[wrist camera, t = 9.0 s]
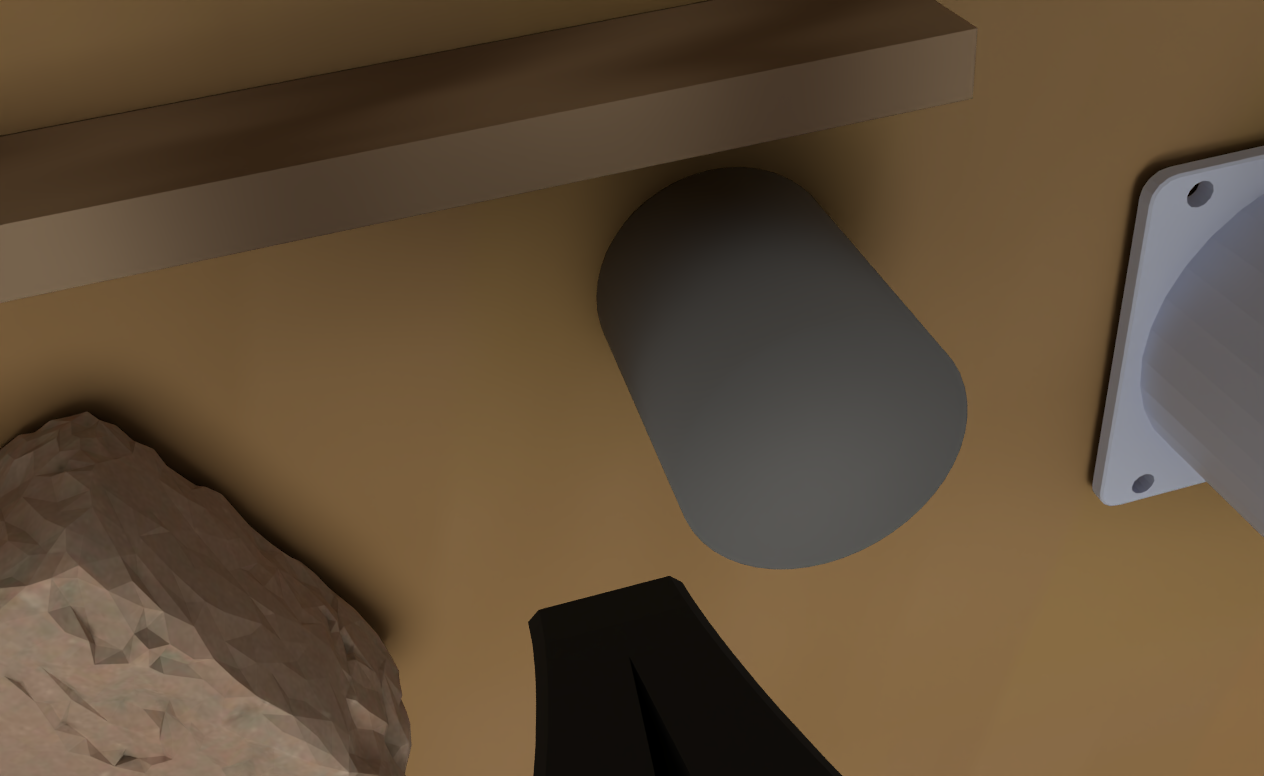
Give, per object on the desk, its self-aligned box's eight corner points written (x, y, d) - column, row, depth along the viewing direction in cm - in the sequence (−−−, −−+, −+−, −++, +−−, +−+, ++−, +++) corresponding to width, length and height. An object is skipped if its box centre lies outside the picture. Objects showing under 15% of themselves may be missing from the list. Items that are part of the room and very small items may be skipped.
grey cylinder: (835, 142, 20) (977, 289, 16) (836, 356, 23) (958, 528, 19) (580, 197, 19) (662, 363, 15) (611, 410, 22) (688, 599, 18)
